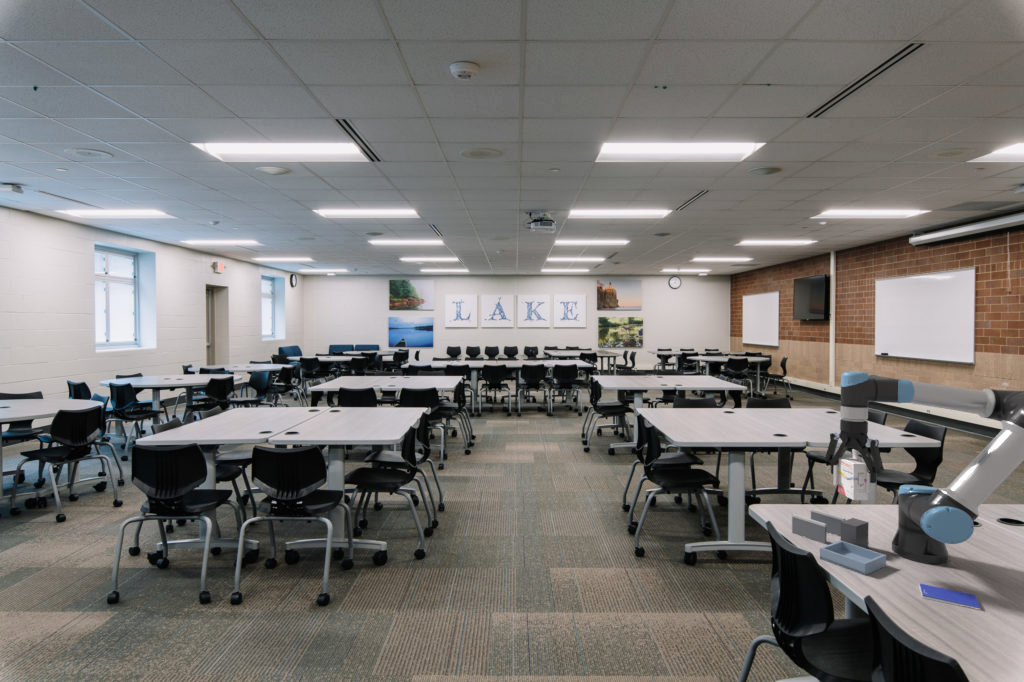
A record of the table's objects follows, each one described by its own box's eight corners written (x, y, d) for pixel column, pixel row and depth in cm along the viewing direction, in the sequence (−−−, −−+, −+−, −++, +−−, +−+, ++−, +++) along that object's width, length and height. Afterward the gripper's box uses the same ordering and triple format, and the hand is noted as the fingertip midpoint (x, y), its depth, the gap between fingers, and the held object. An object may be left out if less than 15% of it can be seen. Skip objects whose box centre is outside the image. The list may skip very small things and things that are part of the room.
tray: (886, 566, 169) (886, 555, 169) (864, 575, 162) (865, 563, 162) (841, 550, 181) (841, 540, 181) (819, 558, 174) (819, 548, 174)
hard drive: (922, 594, 149) (980, 606, 142) (918, 582, 155) (974, 593, 149) (922, 599, 149) (980, 612, 142) (918, 587, 155) (974, 599, 149)
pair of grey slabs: (845, 536, 193) (845, 518, 193) (824, 543, 186) (824, 524, 186) (812, 526, 203) (812, 508, 203) (791, 532, 197) (792, 514, 197)
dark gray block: (868, 548, 183) (868, 522, 183) (855, 552, 179) (856, 526, 179) (852, 543, 187) (853, 517, 187) (840, 547, 183) (840, 521, 183)
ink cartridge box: (836, 492, 175) (837, 448, 175) (852, 492, 175) (852, 448, 175) (852, 500, 167) (853, 454, 167) (868, 500, 167) (869, 454, 167)
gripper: (898, 423, 163) (897, 495, 163) (825, 414, 182) (824, 478, 183) (886, 425, 159) (884, 499, 160) (813, 415, 178) (812, 481, 179)
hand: (852, 488), depth 171 cm, fingers closed on ink cartridge box, 9 cm apart
